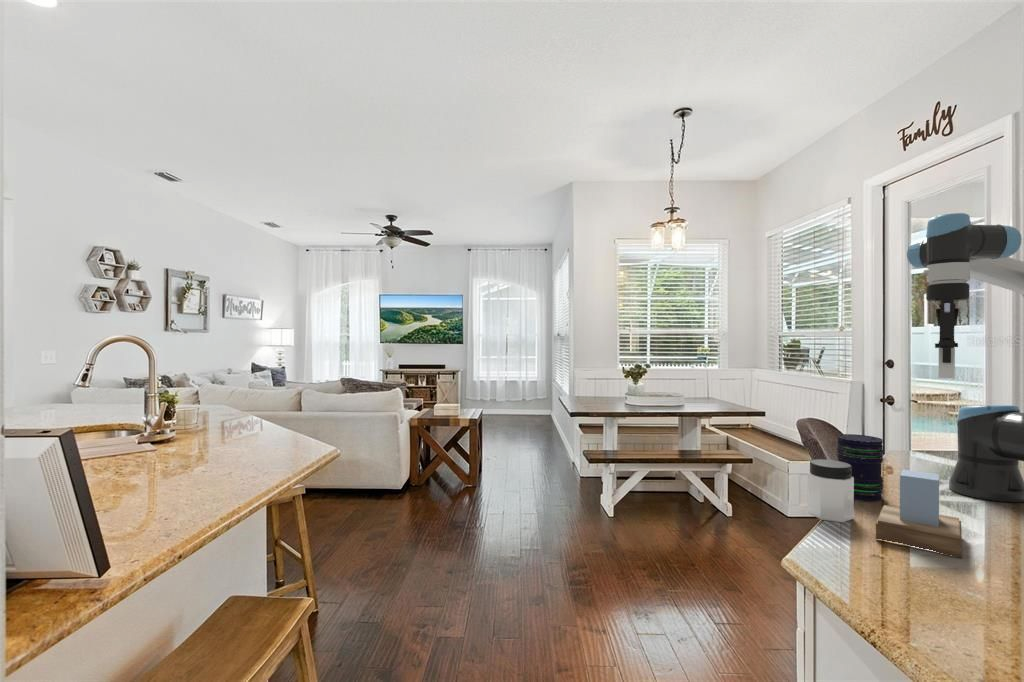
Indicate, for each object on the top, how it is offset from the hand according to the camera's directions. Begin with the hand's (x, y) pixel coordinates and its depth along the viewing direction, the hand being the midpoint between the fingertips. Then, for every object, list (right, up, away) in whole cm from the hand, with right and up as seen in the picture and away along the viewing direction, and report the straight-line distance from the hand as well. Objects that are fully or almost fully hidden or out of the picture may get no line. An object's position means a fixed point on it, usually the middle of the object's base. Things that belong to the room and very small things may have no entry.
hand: (946, 376), depth 118 cm
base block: (-17, -32, -14) cm, 39 cm away
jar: (-27, -32, 0) cm, 42 cm away
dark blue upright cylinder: (-10, -32, +14) cm, 36 cm away
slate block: (-17, -28, -14) cm, 36 cm away
